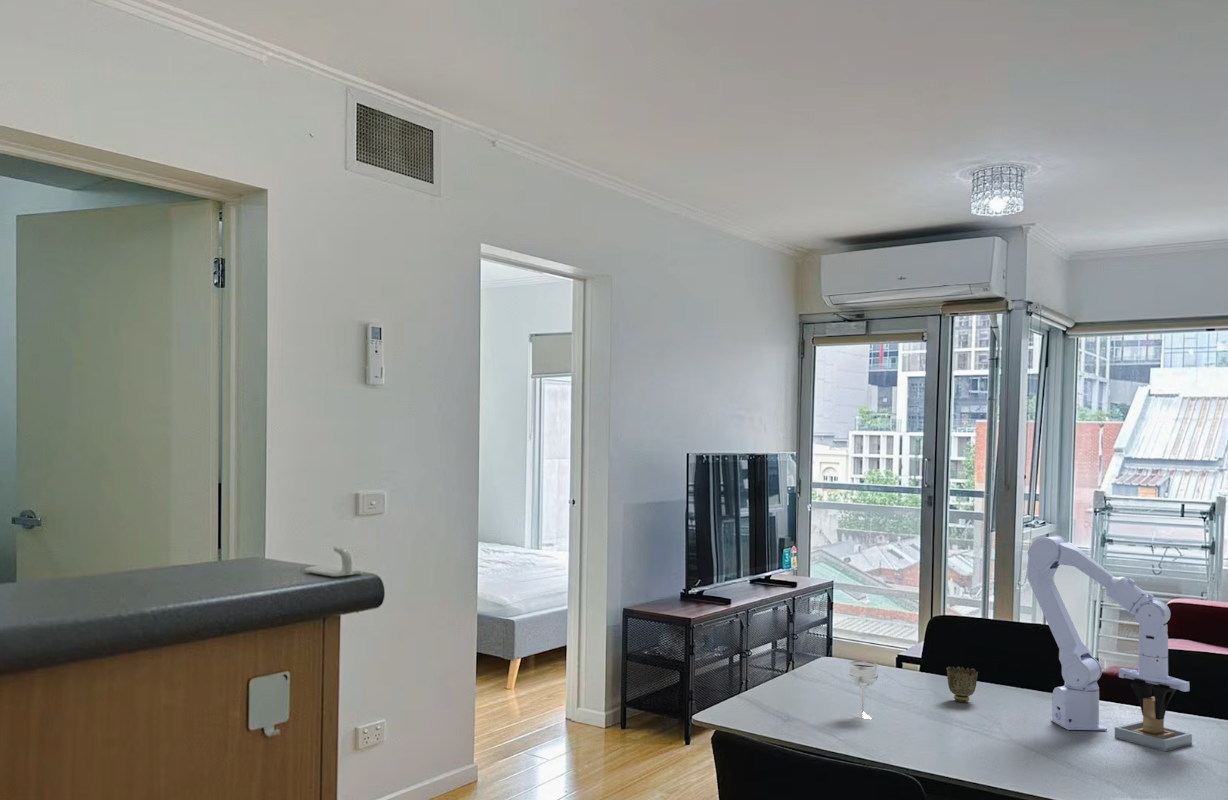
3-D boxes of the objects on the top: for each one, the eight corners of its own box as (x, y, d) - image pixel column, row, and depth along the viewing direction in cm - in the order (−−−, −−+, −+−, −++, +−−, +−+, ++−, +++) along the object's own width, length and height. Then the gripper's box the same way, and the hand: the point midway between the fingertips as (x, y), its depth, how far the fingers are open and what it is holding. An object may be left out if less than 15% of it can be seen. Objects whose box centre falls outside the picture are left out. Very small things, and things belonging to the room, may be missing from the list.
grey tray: (1191, 744, 209) (1191, 734, 209) (1165, 751, 203) (1165, 740, 203) (1141, 730, 219) (1141, 721, 219) (1114, 737, 213) (1114, 727, 213)
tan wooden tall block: (1163, 731, 211) (1163, 699, 212) (1153, 733, 209) (1154, 700, 209) (1152, 728, 213) (1152, 696, 214) (1143, 730, 211) (1143, 698, 211)
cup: (979, 706, 236) (980, 673, 236) (948, 703, 237) (949, 671, 238) (974, 698, 243) (975, 667, 243) (944, 696, 244) (944, 664, 245)
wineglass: (845, 717, 222) (846, 665, 223) (849, 710, 228) (850, 659, 229) (875, 721, 219) (876, 668, 220) (879, 714, 226) (880, 662, 226)
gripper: (1196, 660, 208) (1196, 723, 207) (1130, 647, 220) (1130, 706, 219) (1179, 663, 204) (1179, 727, 203) (1113, 650, 216) (1113, 710, 216)
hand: (1153, 717), depth 211 cm, fingers closed on tan wooden tall block, 2 cm apart
